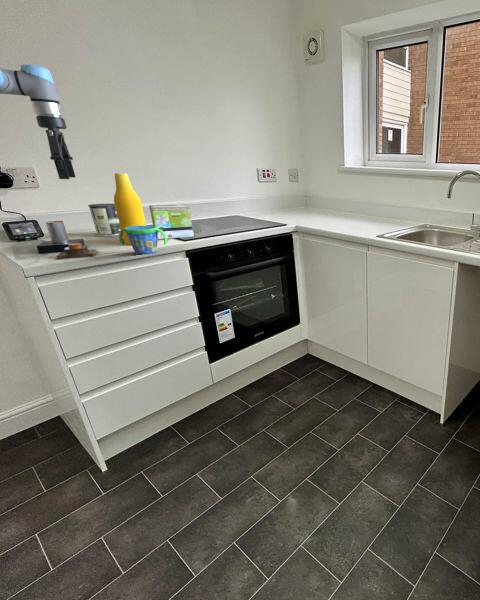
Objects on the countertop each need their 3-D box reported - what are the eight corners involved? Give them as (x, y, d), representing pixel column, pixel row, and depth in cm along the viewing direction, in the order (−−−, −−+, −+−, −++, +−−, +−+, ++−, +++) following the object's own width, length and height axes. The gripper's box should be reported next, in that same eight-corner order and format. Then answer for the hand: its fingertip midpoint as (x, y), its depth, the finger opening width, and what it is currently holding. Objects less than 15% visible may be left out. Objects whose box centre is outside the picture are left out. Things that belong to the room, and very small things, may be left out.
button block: (57, 259, 127) (54, 251, 126) (63, 254, 133) (61, 246, 132) (92, 256, 132) (90, 248, 131) (97, 251, 138) (94, 244, 137)
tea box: (158, 240, 161) (150, 207, 156) (155, 236, 168) (148, 204, 163) (194, 237, 170) (189, 205, 165) (190, 233, 177) (185, 203, 172)
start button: (68, 250, 129) (67, 245, 129) (71, 248, 132) (69, 243, 132) (81, 249, 131) (79, 244, 130) (83, 247, 134) (82, 242, 133)
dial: (50, 243, 135) (43, 222, 132) (54, 241, 139) (47, 220, 136) (67, 242, 138) (60, 221, 135) (70, 240, 142) (64, 219, 139)
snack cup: (174, 250, 145) (169, 225, 141) (161, 256, 135) (155, 229, 132) (133, 250, 143) (126, 225, 139) (117, 256, 133) (110, 229, 129)
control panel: (38, 253, 133) (35, 245, 132) (47, 248, 141) (44, 240, 140) (79, 251, 139) (77, 243, 137) (85, 245, 147) (83, 238, 145)
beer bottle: (119, 244, 150) (100, 173, 140) (134, 240, 159) (118, 172, 148) (140, 245, 150) (123, 174, 140) (155, 241, 159) (139, 173, 148)
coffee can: (122, 231, 176) (115, 203, 171) (125, 235, 169) (117, 205, 164) (96, 233, 169) (87, 203, 164) (97, 237, 162) (88, 206, 157)
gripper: (56, 114, 119) (75, 179, 127) (69, 120, 138) (85, 176, 146) (25, 111, 115) (47, 179, 123) (43, 118, 134) (61, 176, 142)
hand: (68, 178), depth 134 cm, fingers open, 13 cm apart
